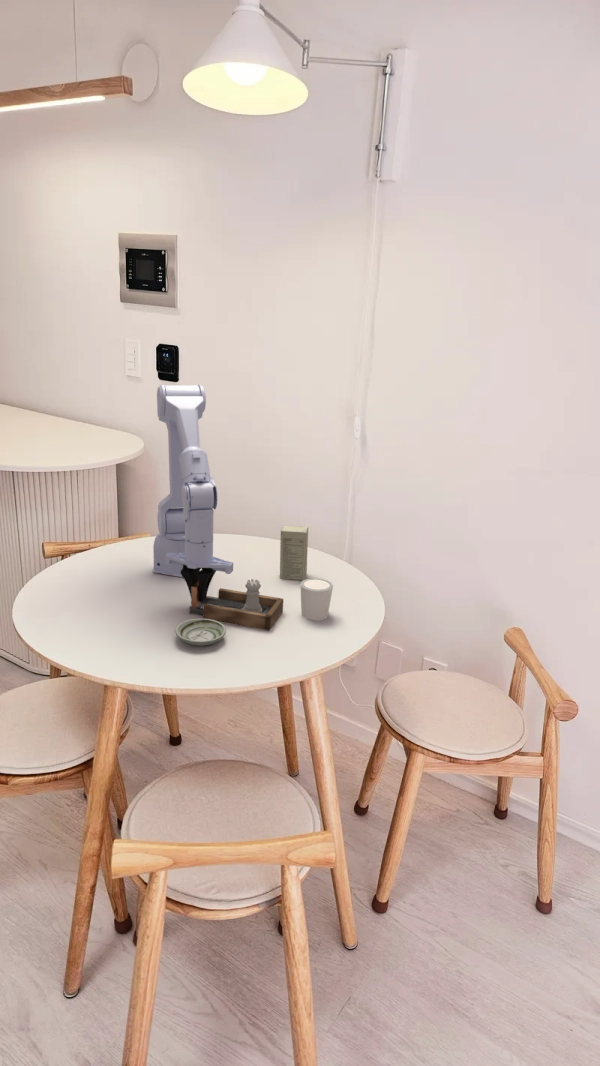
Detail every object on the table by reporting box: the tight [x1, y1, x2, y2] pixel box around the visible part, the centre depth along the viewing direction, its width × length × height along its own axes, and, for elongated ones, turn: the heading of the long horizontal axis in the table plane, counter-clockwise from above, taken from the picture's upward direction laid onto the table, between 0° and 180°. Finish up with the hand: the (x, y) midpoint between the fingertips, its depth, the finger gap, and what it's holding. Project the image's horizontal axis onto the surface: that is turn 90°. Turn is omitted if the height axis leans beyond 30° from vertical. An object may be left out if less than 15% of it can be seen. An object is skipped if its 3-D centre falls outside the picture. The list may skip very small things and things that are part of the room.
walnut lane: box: [202, 587, 284, 631], centre depth 146 cm, size 14×9×3 cm, turn 75°
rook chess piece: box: [241, 578, 263, 614], centre depth 144 cm, size 4×4×8 cm
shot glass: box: [299, 577, 334, 621], centre depth 147 cm, size 7×7×7 cm
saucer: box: [174, 618, 227, 647], centre depth 135 cm, size 10×10×2 cm
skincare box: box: [279, 525, 309, 581], centre depth 165 cm, size 6×4×12 cm
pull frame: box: [189, 581, 272, 616], centre depth 146 cm, size 16×7×6 cm, turn 75°
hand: (198, 599), depth 148 cm, fingers closed on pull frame
